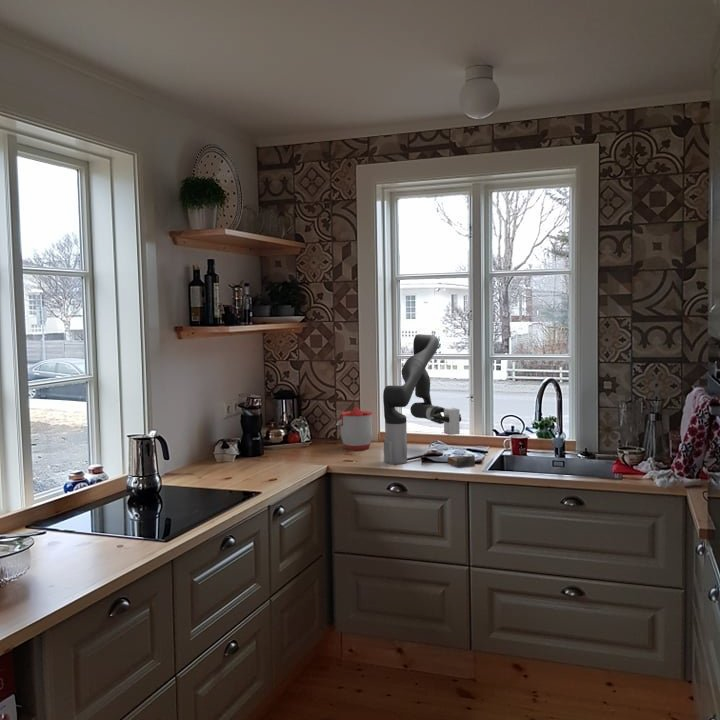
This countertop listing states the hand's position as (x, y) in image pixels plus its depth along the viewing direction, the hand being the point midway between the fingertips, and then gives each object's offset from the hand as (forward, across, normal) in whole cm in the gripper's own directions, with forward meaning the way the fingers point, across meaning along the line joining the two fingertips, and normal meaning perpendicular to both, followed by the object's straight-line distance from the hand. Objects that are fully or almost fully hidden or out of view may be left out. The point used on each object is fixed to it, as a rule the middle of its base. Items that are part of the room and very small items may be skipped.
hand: (454, 419), depth 312 cm
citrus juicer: (-43, -31, +18) cm, 56 cm away
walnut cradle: (+9, -2, +18) cm, 20 cm away
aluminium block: (-3, 0, +6) cm, 7 cm away
